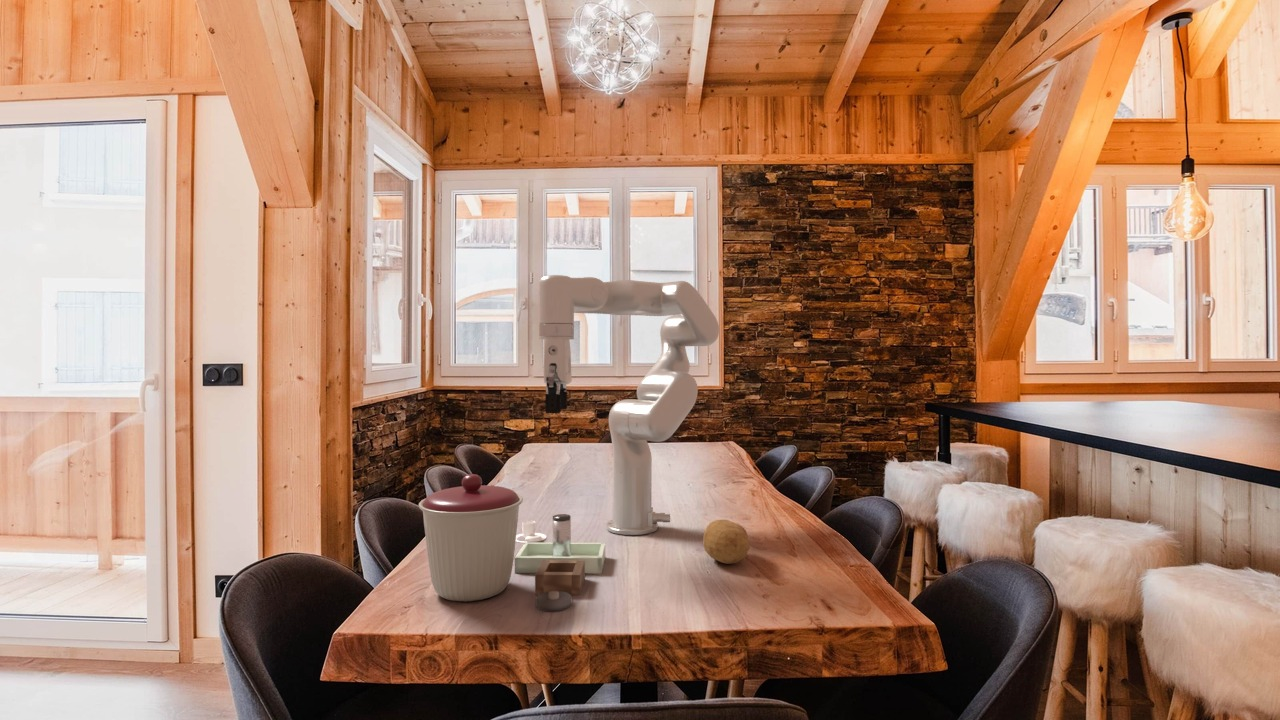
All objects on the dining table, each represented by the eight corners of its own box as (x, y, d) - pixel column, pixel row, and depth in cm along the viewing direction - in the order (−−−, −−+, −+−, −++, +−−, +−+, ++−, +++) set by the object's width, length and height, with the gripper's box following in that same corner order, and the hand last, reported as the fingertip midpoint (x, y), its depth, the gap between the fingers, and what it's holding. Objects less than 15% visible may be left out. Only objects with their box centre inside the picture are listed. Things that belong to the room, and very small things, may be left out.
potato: (739, 549, 139) (739, 513, 139) (758, 571, 125) (758, 531, 125) (695, 551, 138) (695, 514, 138) (710, 573, 124) (710, 532, 124)
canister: (444, 572, 124) (444, 464, 124) (534, 575, 122) (534, 466, 122) (399, 609, 106) (399, 483, 106) (504, 614, 104) (504, 486, 104)
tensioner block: (584, 578, 121) (584, 560, 121) (575, 611, 105) (575, 590, 105) (542, 578, 121) (542, 560, 121) (526, 611, 105) (526, 590, 105)
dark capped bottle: (571, 557, 131) (571, 514, 131) (569, 563, 127) (569, 518, 127) (554, 557, 131) (554, 514, 131) (551, 563, 127) (551, 518, 127)
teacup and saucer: (542, 546, 143) (542, 528, 143) (507, 545, 143) (507, 527, 143) (549, 535, 152) (549, 518, 152) (516, 534, 152) (516, 517, 152)
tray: (605, 557, 134) (605, 542, 134) (601, 573, 124) (601, 558, 124) (524, 556, 134) (524, 542, 134) (514, 572, 124) (514, 557, 124)
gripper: (568, 331, 130) (568, 414, 130) (578, 334, 147) (578, 407, 147) (532, 331, 130) (532, 414, 130) (545, 334, 147) (546, 407, 147)
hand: (556, 411), depth 139 cm, fingers open, 9 cm apart
